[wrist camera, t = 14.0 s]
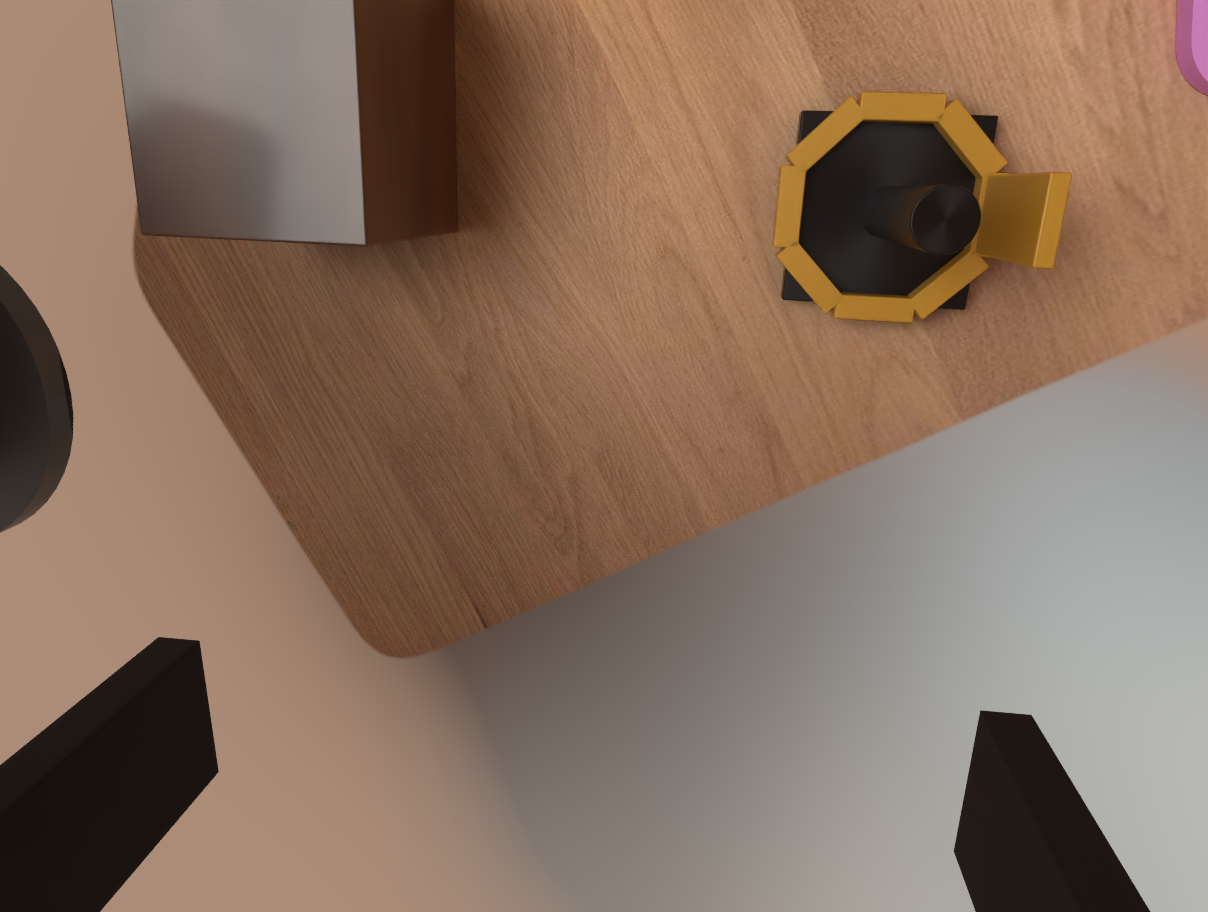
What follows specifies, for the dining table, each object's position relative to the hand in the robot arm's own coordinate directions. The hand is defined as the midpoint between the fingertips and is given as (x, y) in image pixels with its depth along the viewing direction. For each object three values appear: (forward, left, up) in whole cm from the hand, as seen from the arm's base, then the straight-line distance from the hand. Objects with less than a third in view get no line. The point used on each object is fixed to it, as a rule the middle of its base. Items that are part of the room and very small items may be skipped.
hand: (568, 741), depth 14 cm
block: (-17, +12, -33) cm, 40 cm away
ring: (+9, +8, -32) cm, 35 cm away
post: (+10, +8, -33) cm, 36 cm away
